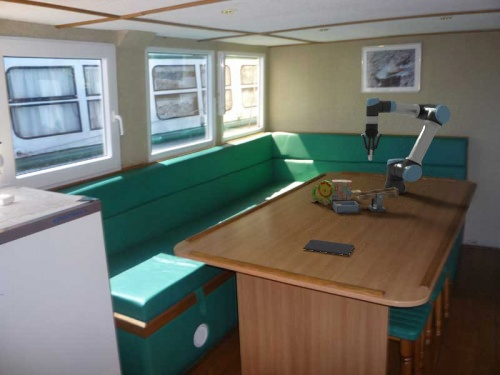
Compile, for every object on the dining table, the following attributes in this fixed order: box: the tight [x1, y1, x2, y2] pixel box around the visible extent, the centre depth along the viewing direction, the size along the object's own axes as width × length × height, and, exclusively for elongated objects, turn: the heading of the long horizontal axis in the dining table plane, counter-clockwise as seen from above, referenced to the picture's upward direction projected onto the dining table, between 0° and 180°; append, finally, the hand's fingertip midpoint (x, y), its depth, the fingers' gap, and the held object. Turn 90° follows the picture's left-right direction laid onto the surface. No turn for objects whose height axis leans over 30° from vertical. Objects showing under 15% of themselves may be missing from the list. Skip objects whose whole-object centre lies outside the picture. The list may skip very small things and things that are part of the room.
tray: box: [332, 200, 361, 214], centre depth 273 cm, size 14×10×4 cm
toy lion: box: [310, 179, 334, 206], centre depth 289 cm, size 16×6×15 cm, turn 47°
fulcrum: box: [367, 189, 387, 213], centre depth 274 cm, size 8×11×11 cm
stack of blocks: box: [317, 179, 353, 201], centre depth 300 cm, size 21×6×12 cm, turn 86°
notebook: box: [302, 239, 355, 256], centre depth 213 cm, size 13×2×21 cm
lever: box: [351, 187, 400, 201], centre depth 278 cm, size 24×17×5 cm
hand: (370, 160), depth 290 cm, fingers closed
